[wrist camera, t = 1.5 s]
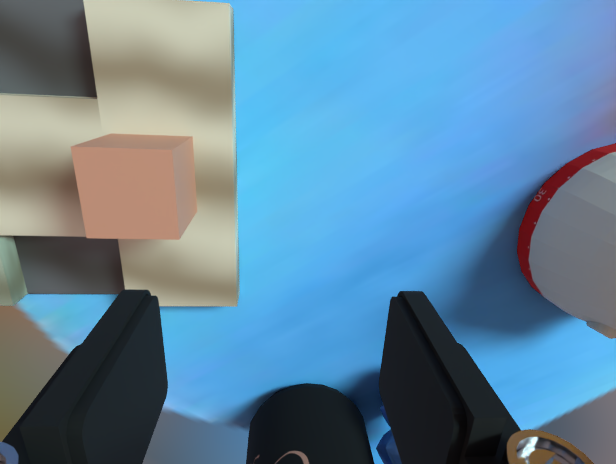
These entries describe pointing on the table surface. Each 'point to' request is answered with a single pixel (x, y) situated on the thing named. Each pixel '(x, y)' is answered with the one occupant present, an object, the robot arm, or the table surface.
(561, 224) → the kitchen timer
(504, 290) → the table surface
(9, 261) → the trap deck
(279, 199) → the table surface
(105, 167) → the block
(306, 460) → the coffee jar
